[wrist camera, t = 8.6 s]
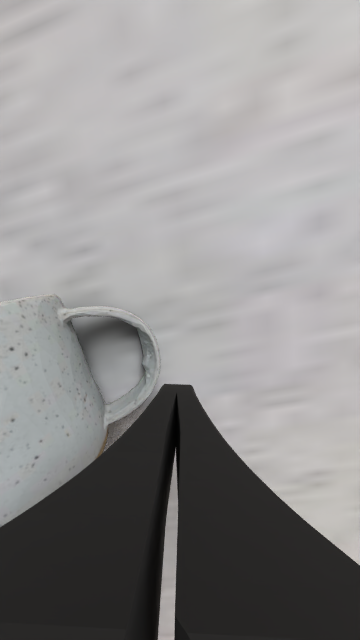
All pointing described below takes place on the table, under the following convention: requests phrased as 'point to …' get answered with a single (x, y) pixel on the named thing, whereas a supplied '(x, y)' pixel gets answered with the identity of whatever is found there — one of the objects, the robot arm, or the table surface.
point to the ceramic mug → (54, 398)
